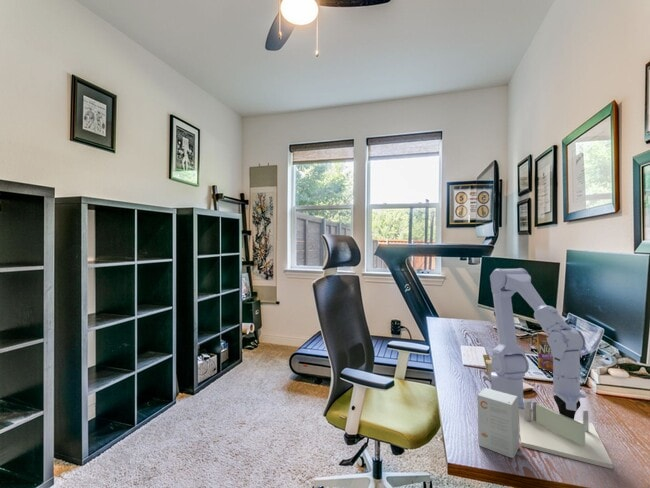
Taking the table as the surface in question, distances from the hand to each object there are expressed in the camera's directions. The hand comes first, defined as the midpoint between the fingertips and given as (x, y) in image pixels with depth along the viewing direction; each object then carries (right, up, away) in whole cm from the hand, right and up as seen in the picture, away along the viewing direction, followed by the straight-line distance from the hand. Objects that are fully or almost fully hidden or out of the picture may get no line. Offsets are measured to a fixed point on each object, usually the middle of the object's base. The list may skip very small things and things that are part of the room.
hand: (566, 425), depth 86 cm
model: (+1, -5, +42) cm, 42 cm away
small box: (-20, -4, -4) cm, 21 cm away
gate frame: (-2, -3, +1) cm, 4 cm away
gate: (-2, -2, 0) cm, 3 cm away
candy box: (+28, -4, +46) cm, 54 cm away
